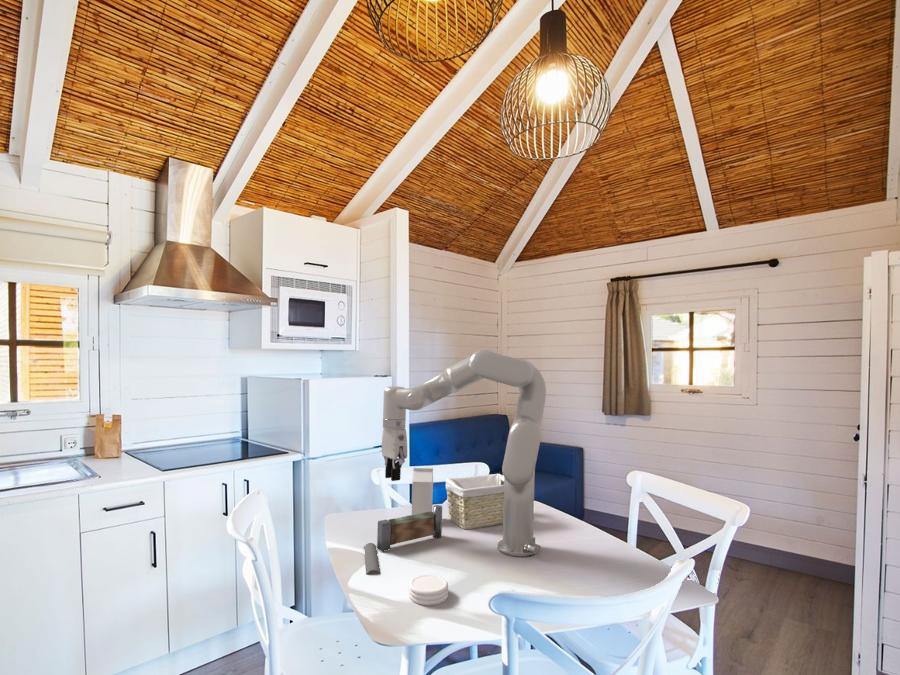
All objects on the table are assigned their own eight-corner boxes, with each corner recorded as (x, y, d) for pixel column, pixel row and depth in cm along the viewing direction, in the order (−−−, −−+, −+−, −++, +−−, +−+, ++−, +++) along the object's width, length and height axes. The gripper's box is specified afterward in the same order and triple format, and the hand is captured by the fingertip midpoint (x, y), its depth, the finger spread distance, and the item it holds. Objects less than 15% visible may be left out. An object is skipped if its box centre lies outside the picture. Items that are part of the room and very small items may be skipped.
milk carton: (431, 524, 179) (432, 470, 179) (411, 523, 179) (412, 470, 179) (432, 517, 186) (433, 466, 186) (413, 516, 186) (414, 465, 186)
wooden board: (430, 533, 167) (431, 511, 167) (433, 535, 165) (434, 512, 165) (387, 543, 157) (388, 519, 158) (391, 545, 156) (391, 521, 156)
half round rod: (376, 548, 158) (376, 542, 158) (381, 575, 138) (381, 569, 139) (363, 548, 157) (363, 543, 157) (365, 576, 138) (365, 570, 138)
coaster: (449, 606, 122) (449, 591, 122) (408, 607, 122) (409, 592, 122) (446, 586, 132) (446, 573, 132) (408, 587, 131) (409, 574, 132)
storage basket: (461, 532, 172) (462, 489, 172) (442, 517, 187) (443, 477, 187) (520, 523, 182) (521, 483, 182) (498, 510, 196) (499, 472, 197)
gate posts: (443, 537, 167) (444, 507, 167) (381, 551, 153) (382, 519, 154) (438, 534, 169) (439, 504, 169) (377, 548, 156) (378, 516, 156)
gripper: (416, 426, 162) (415, 483, 162) (392, 419, 176) (390, 472, 175) (396, 428, 158) (394, 486, 157) (372, 421, 171) (371, 475, 171)
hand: (392, 478), depth 166 cm, fingers open, 3 cm apart
